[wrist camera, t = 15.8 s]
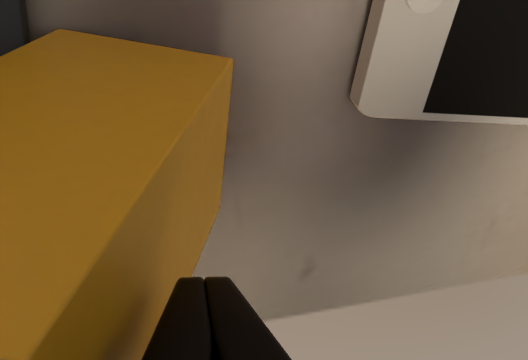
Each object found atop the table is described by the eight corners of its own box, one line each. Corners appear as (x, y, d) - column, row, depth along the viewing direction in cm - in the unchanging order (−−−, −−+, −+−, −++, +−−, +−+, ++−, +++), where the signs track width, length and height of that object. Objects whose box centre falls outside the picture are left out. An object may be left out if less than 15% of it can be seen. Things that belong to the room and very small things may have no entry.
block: (220, 207, 14) (69, 578, 6) (73, 178, 14) (-236, 503, 7) (234, 57, 12) (24, 365, 4) (58, 27, 12) (-444, 263, 4)
